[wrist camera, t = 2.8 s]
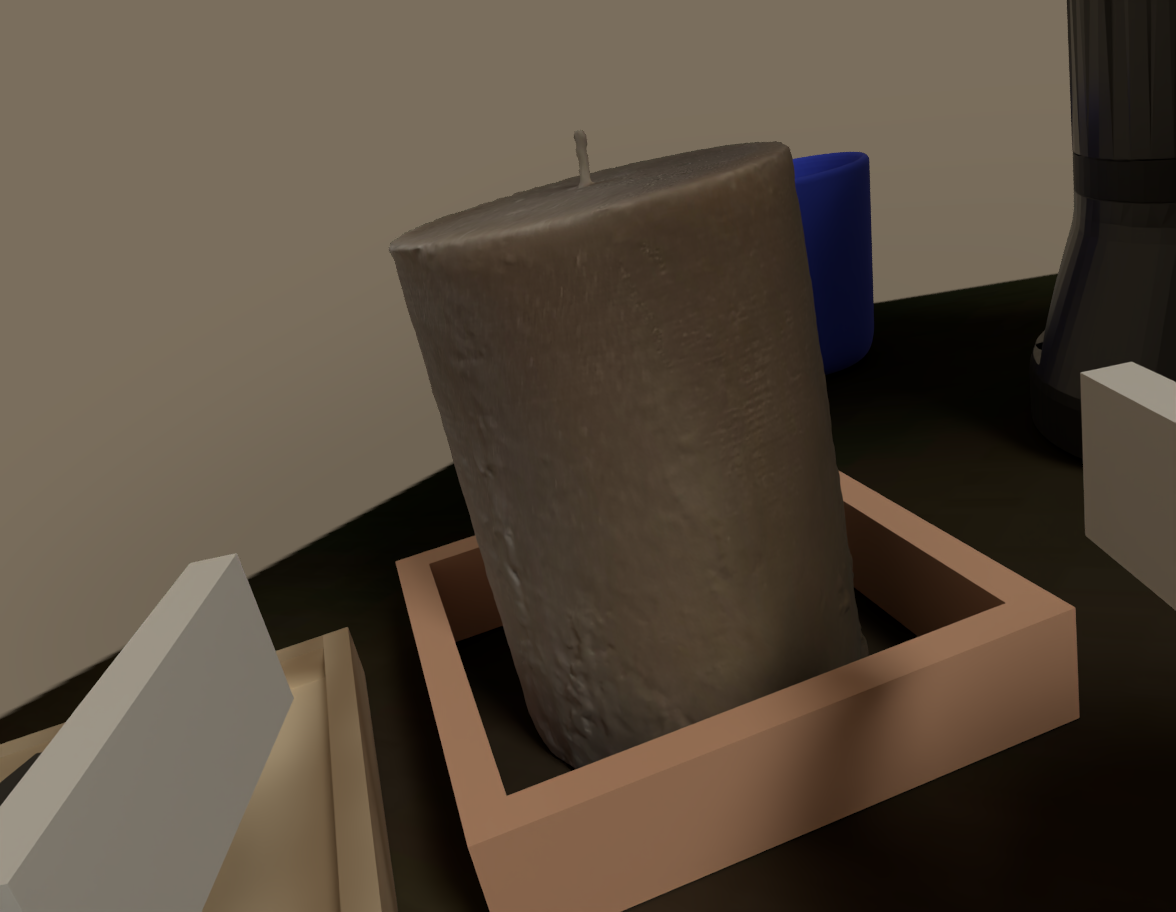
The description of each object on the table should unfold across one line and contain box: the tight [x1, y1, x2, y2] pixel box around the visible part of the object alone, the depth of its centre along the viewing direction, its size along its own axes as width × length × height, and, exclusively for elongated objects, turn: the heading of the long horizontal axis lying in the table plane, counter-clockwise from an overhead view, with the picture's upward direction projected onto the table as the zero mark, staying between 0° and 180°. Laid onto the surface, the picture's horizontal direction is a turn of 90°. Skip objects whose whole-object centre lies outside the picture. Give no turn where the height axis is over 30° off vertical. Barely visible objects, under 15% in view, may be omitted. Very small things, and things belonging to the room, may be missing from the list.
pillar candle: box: [389, 130, 869, 769], centre depth 24 cm, size 10×10×15 cm
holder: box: [396, 471, 1079, 912], centre depth 27 cm, size 14×14×3 cm
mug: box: [793, 152, 874, 375], centre depth 47 cm, size 8×12×10 cm
